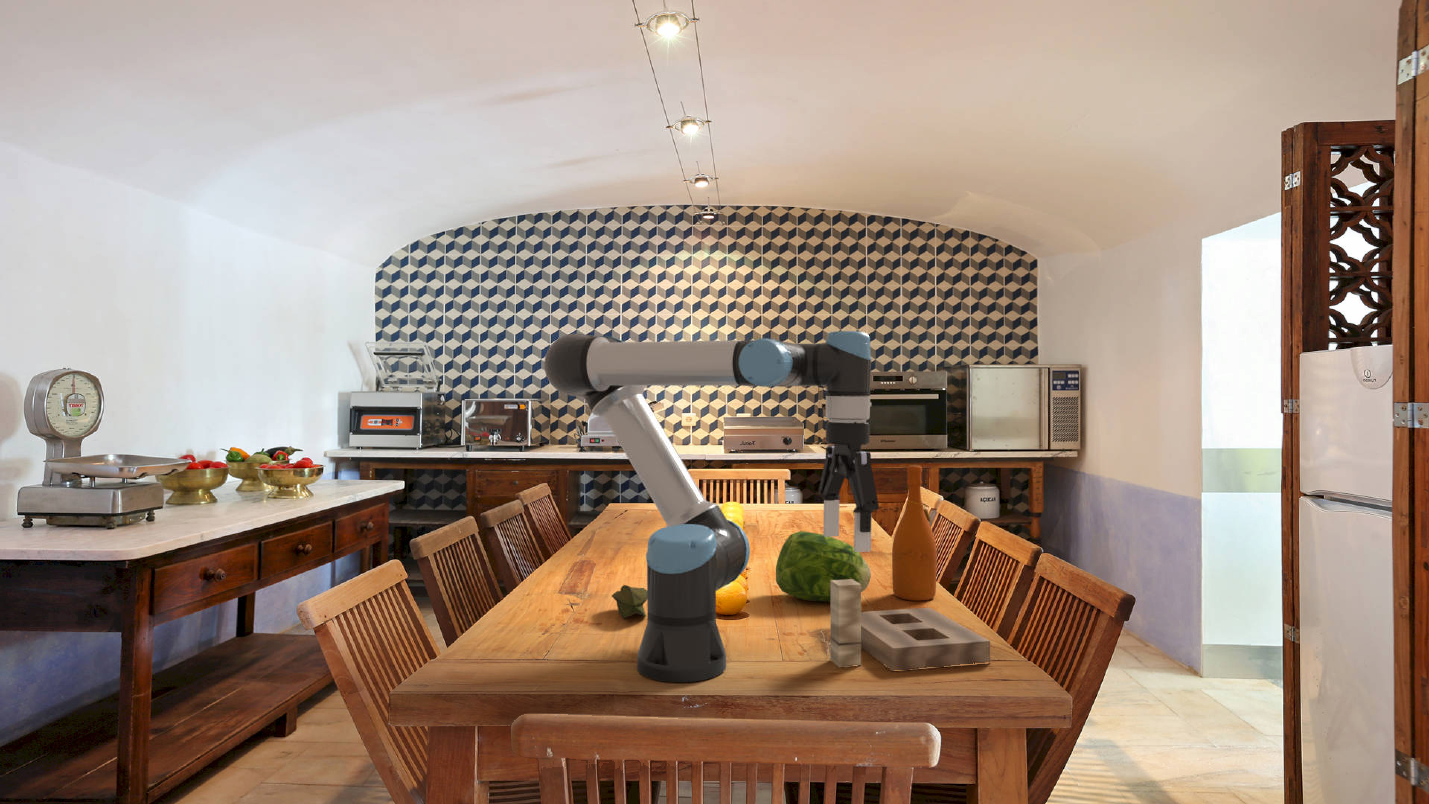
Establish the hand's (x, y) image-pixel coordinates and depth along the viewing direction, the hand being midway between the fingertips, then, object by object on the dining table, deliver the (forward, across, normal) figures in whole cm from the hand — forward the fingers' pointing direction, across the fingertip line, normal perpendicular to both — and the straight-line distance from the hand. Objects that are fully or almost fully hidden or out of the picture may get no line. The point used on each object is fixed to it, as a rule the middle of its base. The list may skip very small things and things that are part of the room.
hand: (846, 543), depth 142 cm
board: (+20, +4, -15) cm, 26 cm away
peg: (+20, -1, 0) cm, 21 cm away
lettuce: (+21, +40, -12) cm, 47 cm away
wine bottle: (+21, +37, -33) cm, 54 cm away
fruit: (+21, +37, +32) cm, 54 cm away
